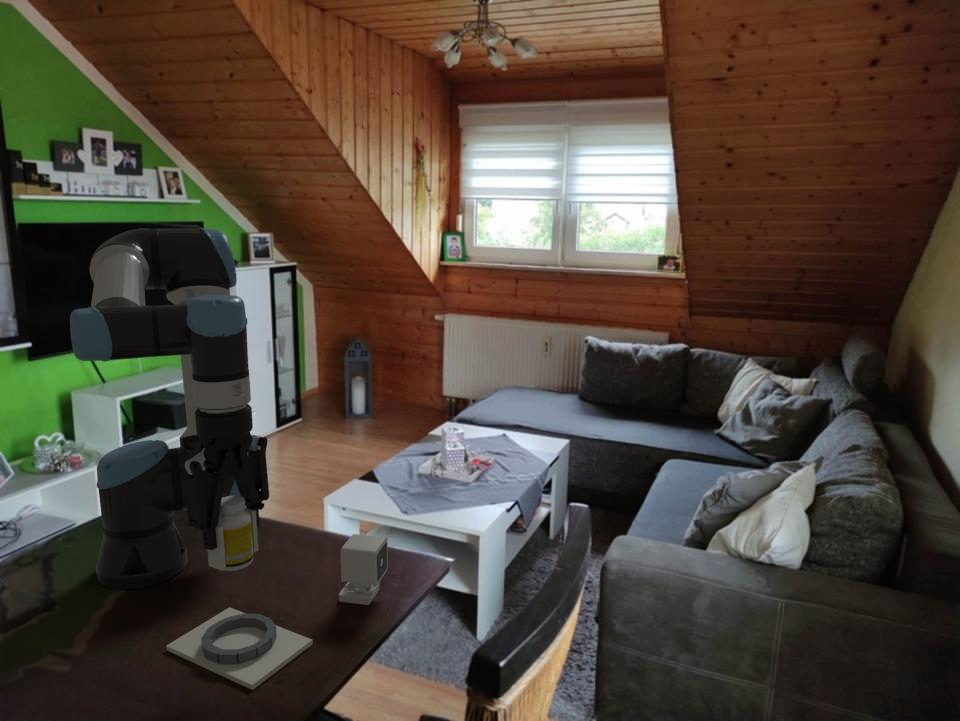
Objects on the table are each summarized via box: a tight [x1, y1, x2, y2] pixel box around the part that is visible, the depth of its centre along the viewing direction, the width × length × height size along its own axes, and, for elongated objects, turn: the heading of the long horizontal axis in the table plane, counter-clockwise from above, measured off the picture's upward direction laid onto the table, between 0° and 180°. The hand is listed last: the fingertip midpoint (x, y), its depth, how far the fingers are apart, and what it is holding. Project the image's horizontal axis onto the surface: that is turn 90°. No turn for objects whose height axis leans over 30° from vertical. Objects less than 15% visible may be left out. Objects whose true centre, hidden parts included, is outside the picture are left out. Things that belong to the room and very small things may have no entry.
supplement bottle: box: [218, 496, 255, 572], centre depth 101 cm, size 5×5×10 cm
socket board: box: [165, 606, 314, 691], centre depth 105 cm, size 18×12×2 cm, turn 61°
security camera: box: [338, 533, 389, 606], centre depth 119 cm, size 6×7×10 cm
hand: (234, 558), depth 102 cm, fingers closed on supplement bottle, 5 cm apart
